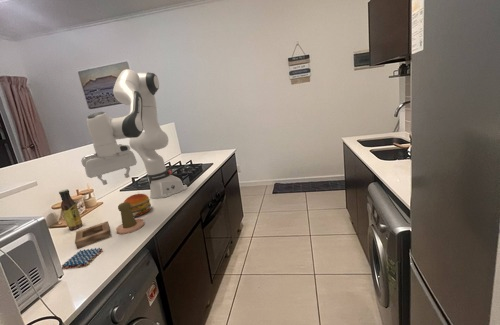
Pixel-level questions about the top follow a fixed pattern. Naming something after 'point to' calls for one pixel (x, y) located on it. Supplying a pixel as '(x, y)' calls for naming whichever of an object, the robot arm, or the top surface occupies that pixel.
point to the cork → (126, 215)
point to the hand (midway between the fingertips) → (116, 180)
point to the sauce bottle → (70, 210)
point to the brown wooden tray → (92, 234)
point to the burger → (139, 204)
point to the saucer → (128, 230)
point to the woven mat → (82, 258)
